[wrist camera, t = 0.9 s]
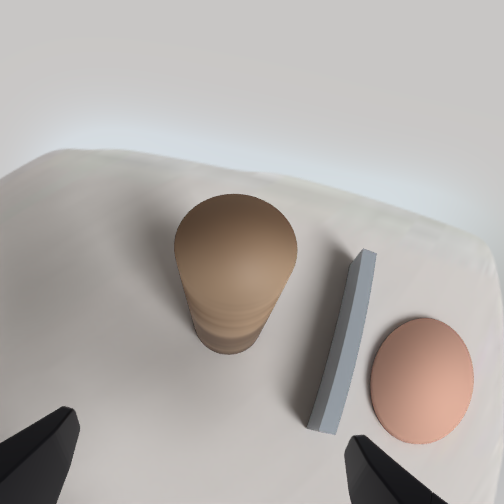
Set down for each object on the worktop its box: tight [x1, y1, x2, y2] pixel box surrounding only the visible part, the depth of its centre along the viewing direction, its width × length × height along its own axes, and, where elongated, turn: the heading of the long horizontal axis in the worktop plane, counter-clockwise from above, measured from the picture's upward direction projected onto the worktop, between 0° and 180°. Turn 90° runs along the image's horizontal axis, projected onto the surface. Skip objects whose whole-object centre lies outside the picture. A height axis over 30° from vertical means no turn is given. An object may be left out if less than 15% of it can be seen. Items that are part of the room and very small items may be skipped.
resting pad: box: [370, 318, 474, 444], centre depth 22 cm, size 11×11×1 cm
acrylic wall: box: [307, 248, 377, 435], centre depth 22 cm, size 14×1×3 cm, turn 161°
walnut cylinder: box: [174, 194, 297, 355], centre depth 18 cm, size 5×5×12 cm
